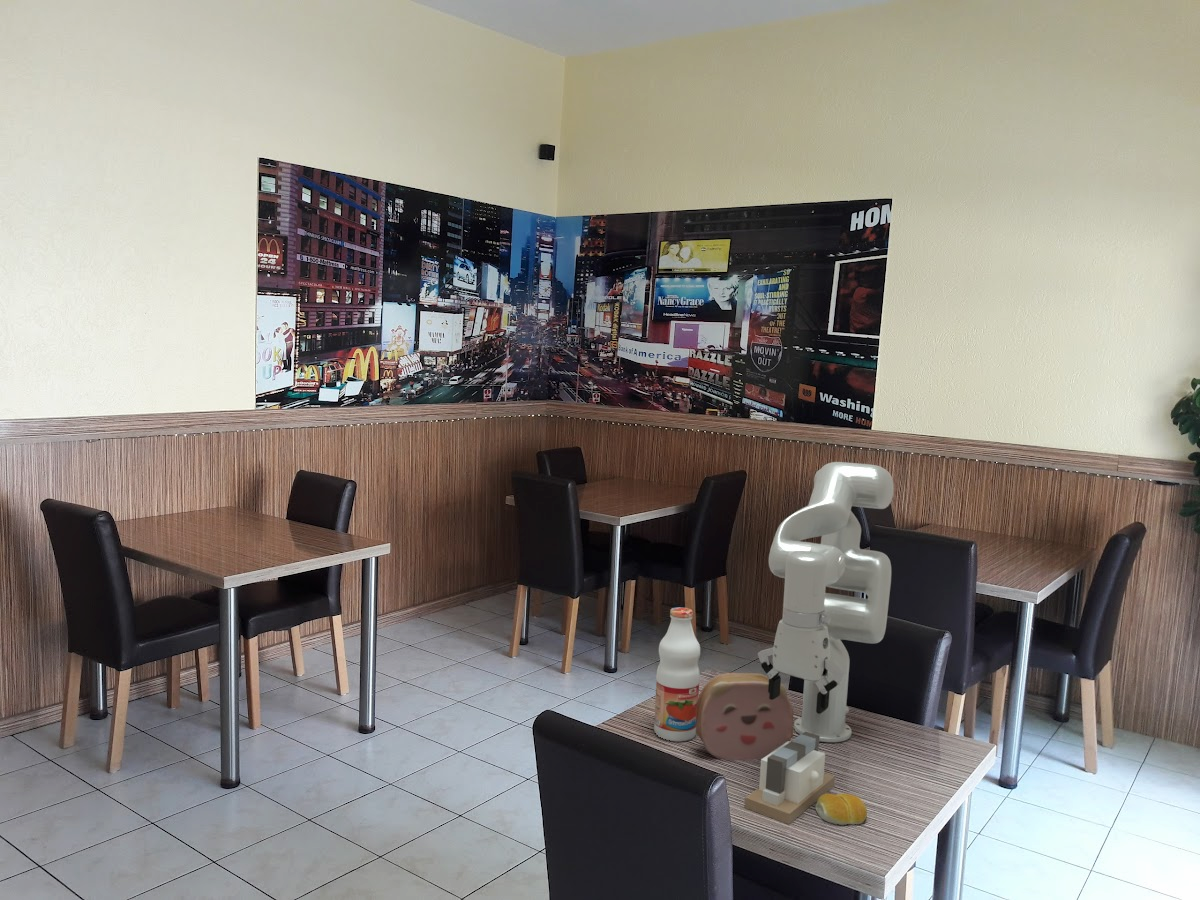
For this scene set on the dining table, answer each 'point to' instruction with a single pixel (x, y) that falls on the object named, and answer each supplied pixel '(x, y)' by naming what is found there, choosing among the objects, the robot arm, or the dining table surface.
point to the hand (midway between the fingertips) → (797, 704)
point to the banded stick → (788, 759)
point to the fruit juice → (677, 679)
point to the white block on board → (792, 788)
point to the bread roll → (841, 809)
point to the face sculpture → (742, 717)
